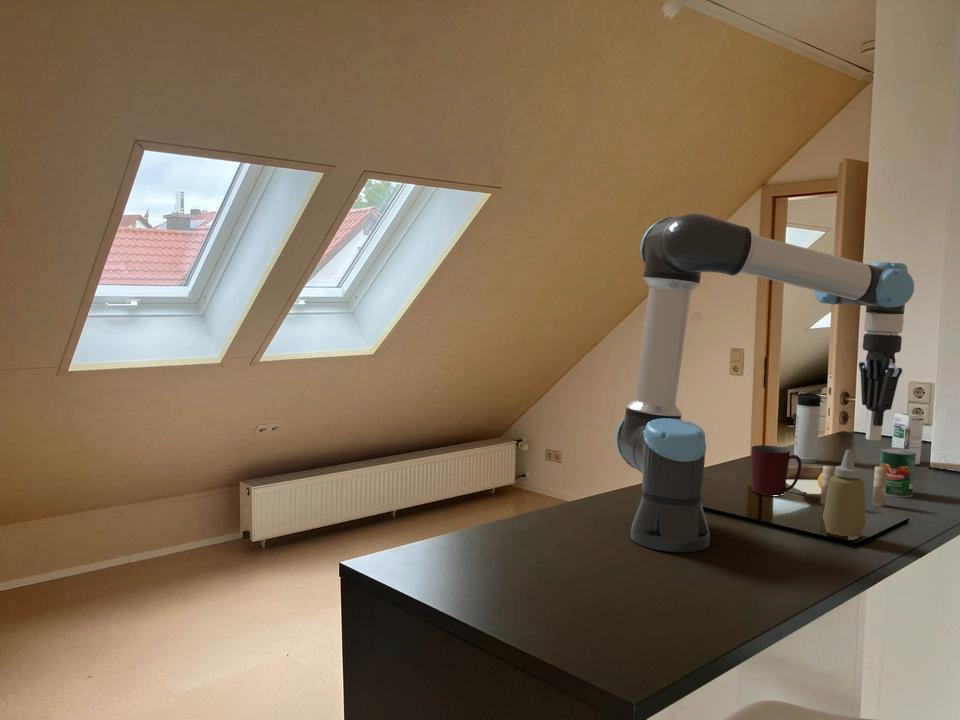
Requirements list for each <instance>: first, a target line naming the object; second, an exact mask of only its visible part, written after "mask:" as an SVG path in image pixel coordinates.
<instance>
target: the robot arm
mask: <svg viewBox="0 0 960 720" xmlns="http://www.w3.org/2000/svg"><path fill="white" fill-rule="evenodd" d="M640 241H641V243H640V247H639V248H640V256H641V259H642V261H643V264H644V269H643V270H644V271H643V278H642V279H643V281H644V282H645V284H646V285H647V286H648V297H647V303H646V304H647V305H646V309H645V310H646V311H645V318H644V326H643V333H642V340H641V348H640V349H641V350H640V356H639V363H638V370H637V371H638V372H637V379H636V386H635V393H634V399H633V400H632V401H630V402H629V403H628V404H626V406H625V414H624V419H623V420H622V421H620V423H619V424H618V426H617V430H616V432H615V445H616V449H617V451H618V453H619V455H620V457H622V460H624V461H625V462H626V464H627V465H628V466H630V467H631V468H633V469H636V470H637V471H639V473H641V474H642V481H641V482H642V483H641V485H642V486H641V500H640V503H639V506H638V508H637V510H636V513H635V515H634V519H633V521H632V524H631V526H630V527H631V531H630V538H631V539H632V541H634V543H636V544H638V545H640V546H642V547H645V548H648V549H652V550H656V551H661V552H668V553H669V552H670V553H694V552H699V551H700V552H701V551H703V550H706V549H707V548H708V547H709V546H710V536H711V535H710V529H709V527H708V523H707V519H706V516H705V511H704V508H703V492H704V477H705V459H706V451H707V445H706V433H705V432H704V430H703V428H702V427H700V426H699V425H697V424H695V423H694V422H691V421H685V420H683V419H682V415H683V413H682V412H681V410H680V409H679V407H677V396H678V386H679V381H680V376H681V375H680V373H681V367H682V360H683V353H684V343H685V337H686V332H687V331H686V329H687V322H688V314H689V311H690V310H689V309H690V301H691V296H692V295H691V294H692V292H693V290H695V289H696V288H697V287H698V286H700V284H701V276H702V273H715V274H716V273H717V274H718V273H719V274H723V275H729V276H732V277H734V276H737V275H739V274H741V273H742V274H746V275H751V276H754V277H759V278H762V279H767V280H770V281H773V282H774V281H775V282H779V283H782V284H787V285H792V286H795V287H800V288H803V289H806V290H807V289H808V290H811V291H813V293H814V296H815V298H816V300H817V301H818V302H820V303H821V304H824V305H825V304H828V305H832V306H833V305H844V306H845V305H847V306H865V315H864V317H865V318H864V325H863V330H864V332H866V333H864V334H863V341H862V349H863V350H864V351H866V352H867V354H866V356H865V357H866V358H865V360H864V361H860V362H859V363H858V367H859V371H860V388H861V391H860V393H861V404H862V405H863V406H865V408H866V410H867V416H866V428H865V429H866V430H865V439H866V440H868V441H881V440H882V434H883V433H882V432H883V424H884V415H885V414H884V413H885V412H886V411H890V410H891V409H892V407H893V403H894V398H895V394H896V390H897V386H898V382H899V379H900V377H901V375H902V373H903V369H902V368H901V367H898V366H897V365H896V353H900V352H901V350H902V342H903V341H902V339H903V337H902V335H899V334H902V332H903V329H904V328H903V327H904V322H905V321H904V315H905V307H906V306H905V305H906V304H907V303H908V302H909V301H910V300H911V298H912V297H913V295H914V292H915V291H914V290H915V282H914V279H913V276H911V274H910V273H909V272H908V266H907V265H906V264H905V263H901V262H882V261H881V262H880V261H879V262H872V263H870V264H868V263H864V262H860V261H856V260H853V259H849V258H844V257H841V256H837V255H834V254H831V253H830V254H829V253H825V252H822V251H817V250H814V249H810V248H807V247H802V246H798V245H796V244H795V245H794V244H791V243H787V242H783V241H780V240H779V241H778V240H775V239H772V238H767V237H764V236H761V235H760V236H759V235H755V234H753V231H752V230H751V228H749V227H748V226H747V227H746V226H743V225H740V224H736V223H733V222H730V221H727V220H724V219H720V218H718V217H717V218H716V217H714V216H711V215H707V214H701V213H687V214H683V215H677V216H668V217H665V218H662V219H660V220H658V221H656V222H655V223H653V224H652V225H651V226H650V227H649V228H648V229H647V230H646V231H645V232H644V235H643V236H642V239H641V240H640Z"/></svg>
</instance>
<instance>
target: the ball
mask: <svg viewBox="0 0 960 720" xmlns="http://www.w3.org/2000/svg"><path fill="white" fill-rule="evenodd" d="M822 474H823V473H821V474H820V475H819V477H818V479H817V480H818V485H819V487H820V488H821V489H822ZM835 476H836V475H835Z"/></svg>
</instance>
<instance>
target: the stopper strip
mask: <svg viewBox="0 0 960 720" xmlns="http://www.w3.org/2000/svg"><path fill="white" fill-rule="evenodd" d="M823 466H824V465H821V466H820V465H801V472H800V476H799V479H798V480H818V477H819V475H820V474H821V473H823ZM797 471H798V465H788V471H787V478H786V479H788V480H795V478H796V475H797Z"/></svg>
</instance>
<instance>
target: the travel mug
mask: <svg viewBox="0 0 960 720" xmlns="http://www.w3.org/2000/svg"><path fill="white" fill-rule="evenodd" d="M821 398H822V397H821V395H820V394H816V393H815V392H807V393H799V394H798V395H797V405H796V406H797V408H796V417H795V418H796V419H795V420H796V421H795V433H794V434H795V435H794V446H793V447H794V448H793V455H797V456H798V457H799V458H800V459H801V463H802V464H814V463H816V462H817V459H818V446H819V431H820V418H821V417H820V414H821ZM793 460H794V461H795V462H798V461H797V460H796V459H793Z"/></svg>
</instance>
